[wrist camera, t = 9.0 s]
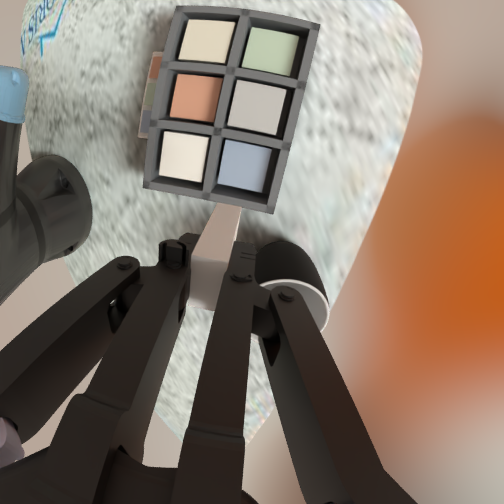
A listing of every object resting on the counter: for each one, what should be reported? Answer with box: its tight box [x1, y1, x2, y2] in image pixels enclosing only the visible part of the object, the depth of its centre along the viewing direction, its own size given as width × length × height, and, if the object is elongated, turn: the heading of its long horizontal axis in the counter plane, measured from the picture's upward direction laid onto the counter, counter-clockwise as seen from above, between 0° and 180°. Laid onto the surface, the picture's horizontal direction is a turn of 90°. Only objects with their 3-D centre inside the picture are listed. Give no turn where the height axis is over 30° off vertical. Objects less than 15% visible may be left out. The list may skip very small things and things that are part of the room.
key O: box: [159, 130, 212, 182], centre depth 26 cm, size 4×4×2 cm
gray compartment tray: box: [138, 6, 320, 214], centre depth 24 cm, size 17×20×4 cm
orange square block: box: [170, 74, 224, 122], centre depth 24 cm, size 4×4×2 cm
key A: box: [218, 138, 272, 193], centre depth 27 cm, size 4×4×2 cm
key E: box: [242, 27, 299, 78], centre depth 21 cm, size 4×4×2 cm
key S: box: [179, 20, 237, 66], centre depth 20 cm, size 4×4×2 cm
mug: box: [251, 241, 330, 344], centre depth 31 cm, size 12×9×10 cm
